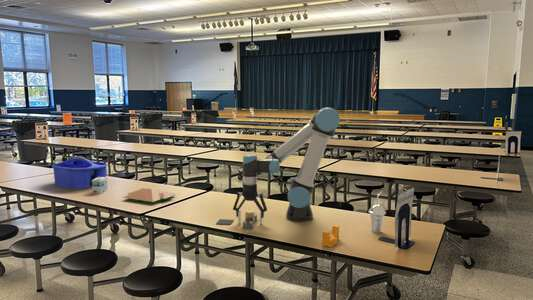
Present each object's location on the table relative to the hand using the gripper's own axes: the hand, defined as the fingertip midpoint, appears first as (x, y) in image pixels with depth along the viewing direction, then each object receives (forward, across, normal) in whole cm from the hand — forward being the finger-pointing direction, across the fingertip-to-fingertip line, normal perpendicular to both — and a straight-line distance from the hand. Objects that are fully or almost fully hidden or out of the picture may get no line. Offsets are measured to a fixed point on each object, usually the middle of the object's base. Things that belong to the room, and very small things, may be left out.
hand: (250, 223), depth 203 cm
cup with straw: (0, -66, +3) cm, 66 cm away
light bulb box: (+1, +120, -53) cm, 131 cm away
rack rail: (0, 0, 0) cm, 0 cm away
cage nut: (0, 0, 0) cm, 0 cm away
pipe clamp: (+1, -43, +21) cm, 48 cm away
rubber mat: (0, +14, 0) cm, 14 cm away
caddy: (+1, +149, -74) cm, 166 cm away
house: (+1, +77, -40) cm, 87 cm away
